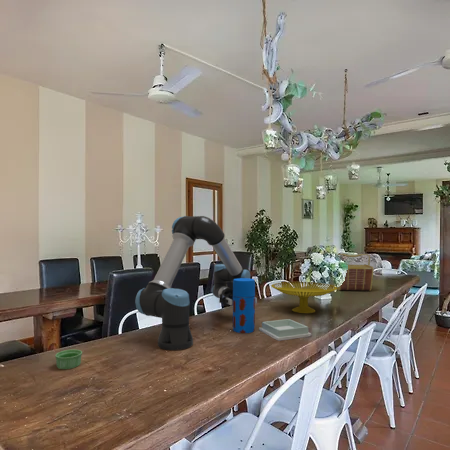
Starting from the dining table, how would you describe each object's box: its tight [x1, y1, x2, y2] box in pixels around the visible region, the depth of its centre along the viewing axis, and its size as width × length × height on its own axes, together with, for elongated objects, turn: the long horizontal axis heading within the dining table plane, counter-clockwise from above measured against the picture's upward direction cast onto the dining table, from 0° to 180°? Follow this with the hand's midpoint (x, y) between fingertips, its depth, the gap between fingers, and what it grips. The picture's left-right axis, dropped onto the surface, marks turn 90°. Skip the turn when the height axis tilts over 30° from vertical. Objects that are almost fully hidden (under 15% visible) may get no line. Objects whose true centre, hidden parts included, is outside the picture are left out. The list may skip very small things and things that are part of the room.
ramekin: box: [54, 349, 83, 370], centre depth 130 cm, size 9×9×4 cm
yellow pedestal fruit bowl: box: [270, 281, 338, 314], centre depth 219 cm, size 40×40×15 cm
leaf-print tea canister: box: [232, 278, 256, 334], centre depth 176 cm, size 11×11×25 cm
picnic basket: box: [337, 253, 375, 292], centre depth 298 cm, size 29×26×30 cm
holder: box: [258, 318, 312, 341], centre depth 171 cm, size 18×18×4 cm
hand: (244, 301), depth 177 cm, fingers open, 13 cm apart
